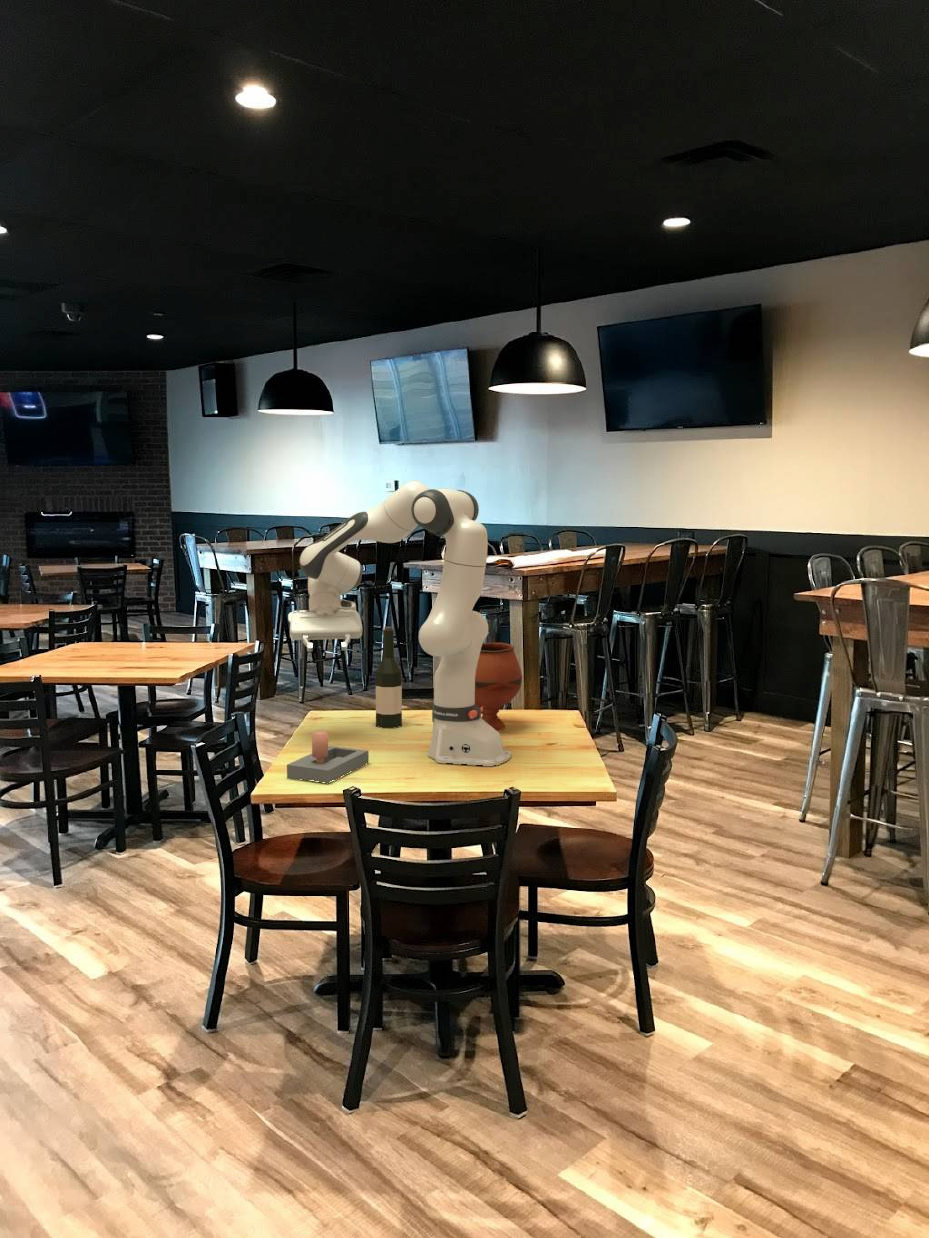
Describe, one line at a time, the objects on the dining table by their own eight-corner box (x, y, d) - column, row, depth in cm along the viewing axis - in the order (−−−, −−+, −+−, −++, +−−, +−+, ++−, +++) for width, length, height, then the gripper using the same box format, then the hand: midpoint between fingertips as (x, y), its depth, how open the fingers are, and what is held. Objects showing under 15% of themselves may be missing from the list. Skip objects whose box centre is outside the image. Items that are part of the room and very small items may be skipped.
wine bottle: (370, 726, 304) (369, 628, 300) (382, 720, 312) (381, 624, 308) (395, 729, 301) (394, 630, 297) (407, 723, 309) (406, 626, 305)
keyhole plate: (329, 758, 270) (329, 745, 270) (368, 763, 265) (368, 750, 265) (287, 778, 252) (286, 764, 251) (328, 784, 247) (328, 770, 247)
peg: (334, 773, 256) (333, 731, 254) (323, 778, 251) (322, 736, 250) (317, 771, 258) (316, 729, 256) (306, 776, 254) (305, 733, 252)
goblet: (447, 731, 299) (447, 648, 295) (472, 717, 316) (472, 639, 313) (508, 738, 291) (509, 653, 288) (530, 723, 309) (531, 643, 305)
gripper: (287, 604, 282) (289, 644, 274) (360, 602, 286) (364, 642, 278) (287, 617, 287) (289, 657, 279) (359, 616, 291) (363, 655, 283)
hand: (327, 649), depth 278 cm, fingers open, 8 cm apart
